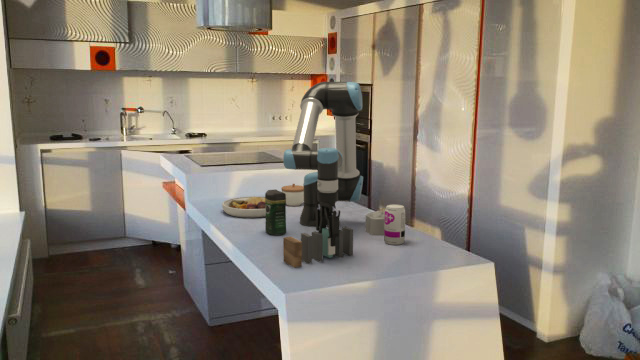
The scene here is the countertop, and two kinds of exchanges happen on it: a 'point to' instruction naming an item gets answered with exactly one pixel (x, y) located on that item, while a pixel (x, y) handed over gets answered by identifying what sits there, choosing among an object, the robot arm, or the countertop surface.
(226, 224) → the countertop surface
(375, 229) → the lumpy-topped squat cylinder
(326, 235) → the domino
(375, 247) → the countertop surface
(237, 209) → the bowl
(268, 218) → the coffee jar
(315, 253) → the domino
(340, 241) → the domino
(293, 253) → the end block
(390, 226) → the supplement can
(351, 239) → the domino
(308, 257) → the domino
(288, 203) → the lidded bowl
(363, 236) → the countertop surface
